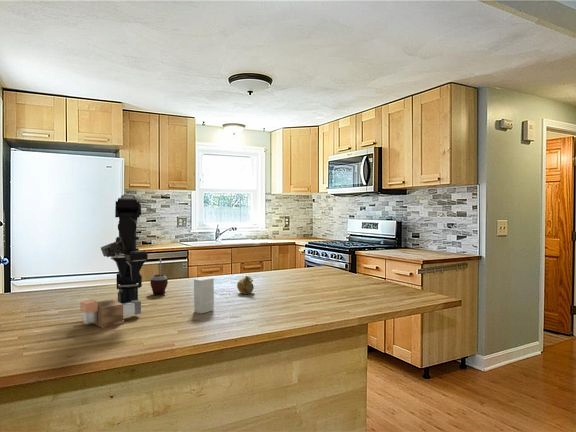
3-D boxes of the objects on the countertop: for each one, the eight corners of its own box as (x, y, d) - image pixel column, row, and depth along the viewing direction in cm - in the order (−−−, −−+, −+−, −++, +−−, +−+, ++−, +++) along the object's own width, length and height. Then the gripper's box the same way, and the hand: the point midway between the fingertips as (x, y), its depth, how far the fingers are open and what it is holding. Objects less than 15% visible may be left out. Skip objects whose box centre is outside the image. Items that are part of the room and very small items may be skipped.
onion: (255, 291, 181) (256, 273, 180) (252, 295, 173) (252, 277, 172) (239, 291, 181) (239, 273, 181) (235, 295, 173) (235, 276, 173)
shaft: (136, 311, 142) (136, 299, 142) (140, 313, 139) (140, 301, 139) (82, 322, 128) (82, 309, 128) (86, 324, 126) (86, 311, 126)
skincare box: (206, 308, 151) (206, 276, 151) (214, 310, 148) (214, 278, 148) (193, 311, 146) (193, 278, 146) (200, 313, 144) (201, 280, 143)
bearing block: (110, 317, 138) (110, 299, 138) (124, 323, 132) (124, 304, 132) (89, 321, 133) (89, 302, 133) (102, 328, 127) (102, 308, 126)
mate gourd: (156, 296, 169) (156, 261, 169) (146, 293, 174) (145, 259, 174) (171, 293, 175) (171, 259, 175) (160, 291, 180) (160, 257, 180)
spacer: (92, 308, 131) (92, 299, 131) (97, 311, 128) (97, 301, 128) (80, 310, 128) (80, 301, 128) (85, 313, 125) (85, 303, 125)
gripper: (93, 233, 141) (93, 278, 141) (115, 236, 128) (115, 285, 128) (125, 232, 149) (125, 274, 149) (148, 234, 136) (148, 281, 136)
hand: (127, 278), depth 140 cm, fingers open, 9 cm apart
